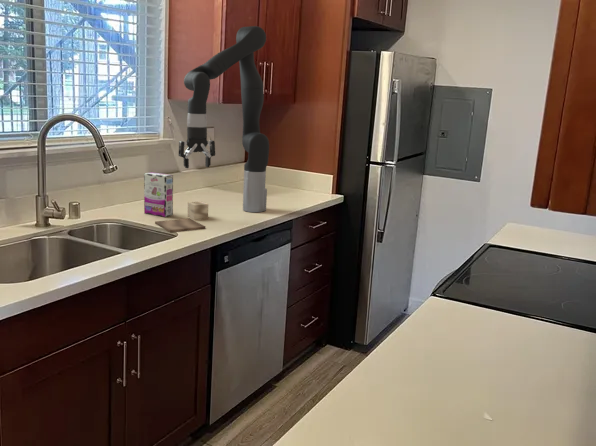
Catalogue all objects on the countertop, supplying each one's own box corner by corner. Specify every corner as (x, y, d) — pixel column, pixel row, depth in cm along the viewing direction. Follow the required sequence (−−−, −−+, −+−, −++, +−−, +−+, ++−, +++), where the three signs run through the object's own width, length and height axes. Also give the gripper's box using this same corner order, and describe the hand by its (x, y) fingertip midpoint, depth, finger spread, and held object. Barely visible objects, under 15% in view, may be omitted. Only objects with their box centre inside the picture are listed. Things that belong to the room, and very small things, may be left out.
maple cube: (201, 215, 238) (201, 201, 237) (208, 218, 233) (208, 204, 232) (187, 217, 235) (187, 202, 233) (194, 220, 230) (194, 205, 228)
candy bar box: (173, 215, 236) (173, 174, 232) (165, 217, 231) (165, 176, 227) (152, 211, 241) (152, 171, 237) (143, 213, 236) (143, 172, 232)
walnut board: (189, 220, 229) (189, 218, 229) (205, 228, 218) (205, 226, 217) (155, 223, 221) (155, 221, 221) (169, 232, 210) (169, 230, 210)
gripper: (210, 124, 232) (210, 165, 236) (175, 124, 224) (176, 166, 228) (218, 126, 226) (217, 168, 230) (182, 126, 218) (183, 169, 222)
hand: (197, 167), depth 229 cm, fingers open, 8 cm apart
